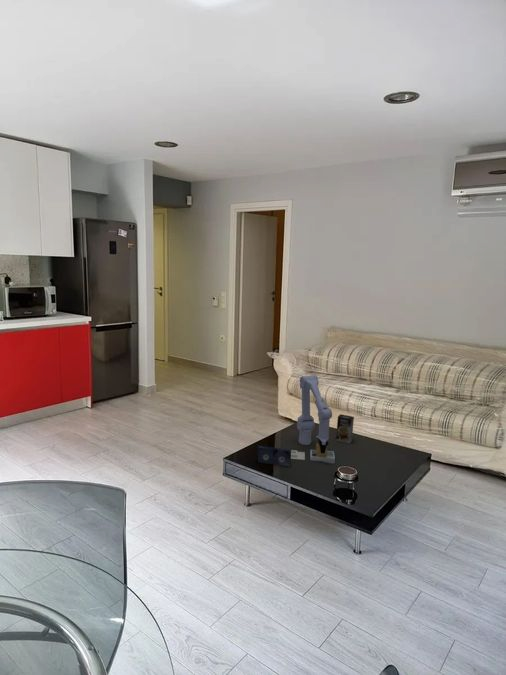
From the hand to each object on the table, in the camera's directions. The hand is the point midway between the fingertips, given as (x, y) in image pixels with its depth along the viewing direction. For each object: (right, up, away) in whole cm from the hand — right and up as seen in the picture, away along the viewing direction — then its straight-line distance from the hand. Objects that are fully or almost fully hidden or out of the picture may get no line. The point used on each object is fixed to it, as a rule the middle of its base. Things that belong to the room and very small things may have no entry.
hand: (322, 451), depth 260 cm
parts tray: (0, -4, +1) cm, 4 cm away
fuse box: (-19, -3, +3) cm, 20 cm away
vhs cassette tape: (-28, -5, -9) cm, 30 cm away
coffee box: (+18, 0, +29) cm, 34 cm away
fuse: (-1, -3, +1) cm, 3 cm away
